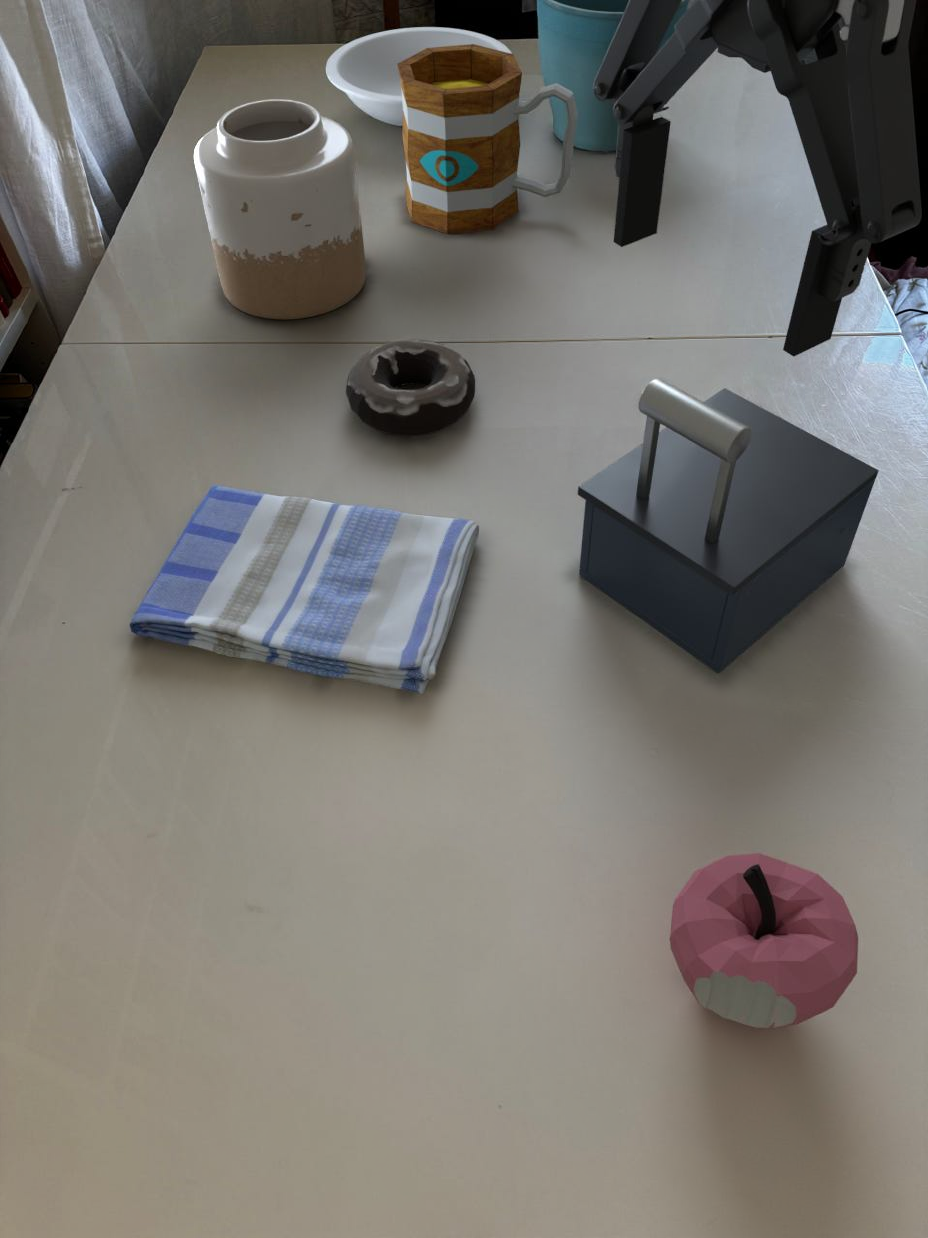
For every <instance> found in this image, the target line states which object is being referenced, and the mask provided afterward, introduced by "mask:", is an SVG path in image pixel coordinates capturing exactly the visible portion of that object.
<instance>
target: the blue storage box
mask: <svg viewBox="0 0 928 1238" xmlns="http://www.w3.org/2000/svg"><path fill="white" fill-rule="evenodd" d="M875 481H876V479H875V480H873V481H872V482H871V483H870V484H869V485H867V486H866V487H865V488H864V489H862V490H861V491H860V492H859V493H858V494H856V495H855V496H854V497H853V498H851V499H850V500H849V501H848V502H847V503H845V504H844V505H843V506H842V507H840V508H839V509H838V510H837V511H836V512H834V513H833V514H832V515H831V516H830V517H828V518H827V519H826V520H825V521H823V522H822V523H821V524H820V525H819V526H817V527H816V528H815V529H814V530H812V531H811V532H810V533H809V534H808V535H806V536H805V537H804V538H803V539H801V540H800V541H799V542H798V543H797V544H795V545H794V546H793V547H792V548H790V549H789V550H788V551H787V552H786V553H784V554H783V555H782V556H781V557H779V558H778V559H777V560H776V561H775V562H773V563H772V564H771V565H770V566H768V567H767V568H766V569H765V570H764V571H762V572H761V573H760V574H759V575H757V576H756V577H755V578H754V579H753V580H751V581H750V582H749V583H748V584H746V585H745V586H744V587H743V588H742V589H740V590H739V591H738V592H737V593H735V594H734V595H733V596H731V595H730V594H728V593H727V592H725V591H724V590H722V589H720V588H719V587H717V586H716V585H714V584H713V583H711V582H710V581H708V580H707V579H705V578H704V577H702V576H701V575H699V574H698V573H696V572H695V571H693V570H692V569H690V568H688V567H687V566H685V565H684V564H682V563H681V562H679V561H678V560H676V559H675V558H673V557H672V556H670V555H669V554H667V553H666V552H664V551H663V550H661V549H659V548H658V547H656V546H655V545H653V544H652V543H650V542H649V541H647V540H646V539H644V538H643V537H641V536H640V535H638V534H637V533H635V532H634V531H632V530H631V529H629V528H627V527H626V526H624V525H623V524H621V523H620V522H618V521H617V520H615V519H614V518H612V517H611V516H609V515H608V514H606V513H605V512H603V511H602V510H600V509H599V508H597V507H595V506H594V505H592V504H591V503H589V502H588V501H586V500H584V501H585V502H584V514H583V525H582V536H581V547H580V558H579V571H578V576H579V577H581V578H582V579H584V580H585V581H587V582H588V583H589V584H591V585H592V586H594V587H595V588H596V589H598V590H599V591H601V592H602V593H603V594H605V595H606V596H608V597H609V598H611V599H612V600H614V601H615V602H616V603H618V604H619V605H620V606H622V608H625V609H626V610H628V611H629V612H630V613H632V614H633V615H635V616H636V617H637V618H639V619H640V620H641V621H643V622H645V623H646V624H647V625H649V626H650V627H652V629H654V630H656V631H657V632H658V633H660V634H662V636H664V637H666V638H667V639H669V640H670V641H671V642H673V643H674V644H676V645H677V646H679V647H680V648H681V649H683V650H684V651H686V653H689V654H690V655H691V656H693V657H694V658H696V659H697V660H698V661H700V662H701V663H702V664H704V665H705V666H707V667H708V668H709V669H711V670H712V671H713V672H715V673H716V674H721V673H722V672H723V671H724V670H725V669H727V667H728V666H730V665H731V664H732V663H734V661H736V660H737V659H738V658H739V657H741V655H743V654H744V653H745V652H746V651H747V650H748V649H750V647H752V646H753V645H754V644H756V642H758V641H759V640H760V639H761V638H762V637H764V635H766V634H767V633H768V632H769V631H770V630H772V629H773V628H774V627H775V626H777V624H779V623H780V622H781V621H782V620H783V619H784V618H786V617H787V616H788V615H789V614H790V613H791V612H792V611H793V610H795V609H796V608H797V607H798V606H800V604H802V603H803V602H804V601H806V599H808V597H810V596H811V595H812V594H813V593H814V592H815V591H817V590H818V589H819V588H820V587H821V586H823V584H825V583H826V582H827V581H828V580H829V579H830V578H832V577H833V576H834V575H835V574H836V573H837V572H839V571H840V570H841V569H842V568H844V567H845V565H846V563H847V560H848V557H849V554H850V551H851V549H852V545H853V543H854V540H855V538H856V534H857V533H858V530H859V527H860V523H861V521H862V518H863V515H864V512H865V510H866V507H867V504H868V501H869V498H870V495H871V492H872V490H873V488H874V486H875Z"/></svg>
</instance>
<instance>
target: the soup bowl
mask: <svg viewBox="0 0 928 1238" xmlns="http://www.w3.org/2000/svg"><path fill="white" fill-rule="evenodd" d="M469 44H475V45H479V46H483V47H487V48H491V49H495V50H499V51H503V52H507V53H511V54H513V53H512V51H511V49H510V48H509V47H507V46H506V45H505V44H504V43H503V42H501V41H499V40H497V39H496V38H494V37H491V36H489V35H486V34H483V33H479V32H476V31H471V30H466V29H461V28H454V27H453V28H452V27H439V26H421V27H420V26H418V27H404V28H397V29H388V30H384V31H380V32H375V33H371V34H368V35H365V36H362V37H358V38H356V39H353V40H351V41H349V42H348V43H345V44H344V45H342V46H340V47H338V48H337V49H336V50H335V51H334V52H332V54H331V55H330V56H329V57H328V59H327V62H326V63H325V64H326V65H325V74H326V76H327V79H328V80H329V81H330V82H331V84H332V85H333V86H334V87H336V88H337V89H338V90H341V91H342V92H344V93H345V94H346V95H347V97H348V98H349V99H350V100H351V101H352V103H353V104H354V105H355V106H356V107H358V108H359V109H360V110H361V111H363V112H364V113H365V114H367V115H368V116H371V117H372V118H373V119H374V120H375V119H376V120H378V121H380V122H382V123H386V124H389V125H392V126H398V127H403V103H402V88H401V82H400V76H399V70H398V65H397V64H398V63H400V62H402V61H403V60H405V59H407V58H409V57H411V56H413V55H415V54H417V53H418V52H420V51H422V50H424V49H426V48H433V47H445V46H457V45H469Z"/></svg>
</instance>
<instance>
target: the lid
mask: <svg viewBox="0 0 928 1238" xmlns="http://www.w3.org/2000/svg"><path fill="white" fill-rule="evenodd" d="M637 406H638V407H637V408H638V411H639V412H640V414H643V415H645V417H646V420H645V426H644V427H645V428H644V433H643V442H642V443H640V444H638V446H636V447H634V448H633V449H632V450H630V451H629V452H627V453H626V454H625V455H623V456H622V457H619V458H618V459H617V460H615V461H614V462H612V463H611V464H610V465H608V466H606V467H605V468H604V469H602V470H601V471H599V472H597V473H596V474H595V475H593V476H592V477H590V478H588V479H587V480H586V481H585V482H582V483H581V484H580V485H578V487H577V496H578V497H580V498H581V499H583V500H584V501H588V502H589V503H591V504H592V505H594V506H595V507H597V508H599V509H600V510H602V511H603V512H605V513H606V514H608V515H609V516H611V517H612V518H614V519H615V520H617V521H618V522H620V523H621V524H623V525H624V526H626V527H627V528H629V529H631V530H632V531H634V532H635V533H637V534H638V535H640V536H641V537H643V538H644V539H646V540H647V541H649V542H650V543H652V544H653V545H655V546H656V547H658V548H659V549H661V550H663V551H664V552H666V553H667V554H669V555H670V556H672V557H673V558H675V559H676V560H678V561H679V562H681V563H682V564H684V565H685V566H687V567H688V568H690V569H692V570H693V571H695V572H696V573H698V574H699V575H701V576H702V577H704V578H705V579H707V580H708V581H710V582H711V583H713V584H714V585H716V586H717V587H719V588H720V589H722V590H724V591H725V592H727V593H728V594H730V595H731V596H733V595H734V594H735V593H737V592H738V591H739V590H740V589H742V588H743V587H744V586H745V585H746V584H748V583H749V582H750V581H751V580H753V579H754V578H755V577H756V576H757V575H759V574H760V573H761V572H762V571H764V570H765V569H766V568H767V567H768V566H770V565H771V564H772V563H773V562H775V561H776V560H777V559H778V558H779V557H781V556H782V555H783V554H784V553H786V552H787V551H788V550H789V549H790V548H792V547H793V546H794V545H795V544H797V543H798V542H799V541H800V540H801V539H803V538H804V537H805V536H806V535H808V534H809V533H810V532H811V531H812V530H814V529H815V528H816V527H817V526H819V525H820V524H821V523H822V522H823V521H825V520H826V519H827V518H828V517H830V516H831V515H832V514H833V513H834V512H836V511H837V510H838V509H839V508H840V507H842V506H843V505H844V504H845V503H847V502H848V501H849V500H850V499H851V498H853V497H854V496H855V495H856V494H858V493H859V492H860V491H861V490H862V489H864V488H865V487H866V486H867V485H869V484H870V483H871V482H872V481H873V480H875V481H876V479H877V477H878V474H879V472H880V470H879V469H877V468H876V467H874V466H872V465H870V464H869V463H866V462H865V461H862V460H860V459H858V458H857V457H855V456H853V455H851V454H850V453H847V452H845V451H844V450H842V449H840V448H838V447H837V446H834V445H832V444H831V443H829V442H826V441H825V440H823V439H822V438H819V437H818V436H816V435H814V434H812V433H810V432H808V431H806V430H804V429H803V428H800V427H799V426H797V425H795V424H793V423H791V422H789V421H788V420H785V419H784V418H782V417H780V416H778V415H776V414H775V413H772V412H770V411H769V410H767V409H765V408H763V407H762V406H759V405H757V404H756V403H754V402H752V401H751V400H748V399H746V398H744V397H743V396H742V395H739V394H737V393H735V392H734V391H732V390H730V389H728V388H725V387H724V388H722V389H721V390H719V391H718V392H716V393H715V394H713V395H712V396H710V397H709V398H708V399H706V400H704V401H702V400H700V399H698V398H697V397H695V396H693V395H691V394H689V393H688V392H687V391H684V390H683V389H680V388H678V386H677V387H676V386H675V385H674V384H671V383H669V382H668V381H666V380H664V379H663V378H654V379H653V380H651V381H650V382H648V384H647V385H646V386H645V388H644V389H643V390H642V392H641V394H640V396H639V400H638V405H637ZM661 425H662V426H663V427H664V428H663V429H661ZM660 429H661V430H660Z"/></svg>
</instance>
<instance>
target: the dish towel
mask: <svg viewBox="0 0 928 1238" xmlns="http://www.w3.org/2000/svg"><path fill="white" fill-rule="evenodd" d="M479 533H480V525H479V524H478V523H477V522H476V521H474V520H469V519H464V518H452V517H440V516H433V515H422V514H417V513H416V514H415V513H407V512H404V511H403V512H402V511H397V510H390V509H385V508H384V509H383V508H378V507H371V506H363V505H347V504H341V503H334V502H329V501H324V500H318V499H314V498H309V497H302V496H289V495H288V496H287V495H285V496H281V495H280V496H278V495H273V494H268V493H264V492H263V493H262V492H258V491H251V490H244V489H237V488H234V487H233V488H232V487H227V486H222V485H217V484H214V485H212V484H211V487H210V488H209V490H208V492H207V493H206V495H205V496H204V498H203V499H202V501H201V502H200V503H199V505H198V506H197V508H196V510H195V511H194V512H193V514H192V516H191V517H190V519H189V521H188V522H187V523H186V526H185V527H184V529H183V531H182V533H181V534H180V536H179V537H178V539H177V541H176V543H175V545H174V546H173V548H172V549H171V551H170V553H169V555H168V556H167V558H166V559H165V561H164V563H163V565H162V567H161V569H160V571H159V573H158V574H157V576H156V578H155V579H154V580H153V582H152V583H151V585H150V586H149V589H148V591H147V592H146V594H145V595H144V598H143V599H142V601H141V603H140V605H139V606H138V608H137V610H136V611H135V613H134V614H133V615H132V618H131V621H130V622H129V628H130V632H131V633H133V634H136V635H137V636H141V637H145V638H150V639H151V638H152V639H156V640H159V641H164V642H168V643H174V644H178V645H183V646H188V647H189V646H191V647H195V648H199V649H202V650H205V651H209V652H212V653H215V654H218V655H224V656H226V657H229V658H237V659H245V660H251V661H254V662H255V661H256V662H262V663H267V664H272V665H276V666H277V667H281V668H284V669H289V670H292V671H297V672H300V673H303V674H308V675H313V676H318V677H323V678H331V679H340V680H341V679H342V680H348V681H354V682H358V683H359V682H360V683H364V684H365V683H366V684H372V685H377V686H382V687H388V688H391V689H396V690H404V691H405V690H406V691H411V692H414V693H416V694H419V695H423V694H424V693H425V692H426V688H427V685H428V683H429V682H430V681H433V680H434V678H435V676H436V675H437V673H436V672H437V671H436V670H437V666H438V663H439V661H440V658H441V655H442V651H443V648H444V646H445V643H446V641H447V637H448V635H449V631H450V629H451V625H452V623H453V620H454V617H455V614H456V610H457V607H458V603H459V600H460V597H461V593H462V590H463V587H464V583H465V579H466V576H467V572H468V570H469V565H470V562H471V561H472V556H473V553H474V550H475V547H476V545H477V543H478V539H479Z"/></svg>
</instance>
